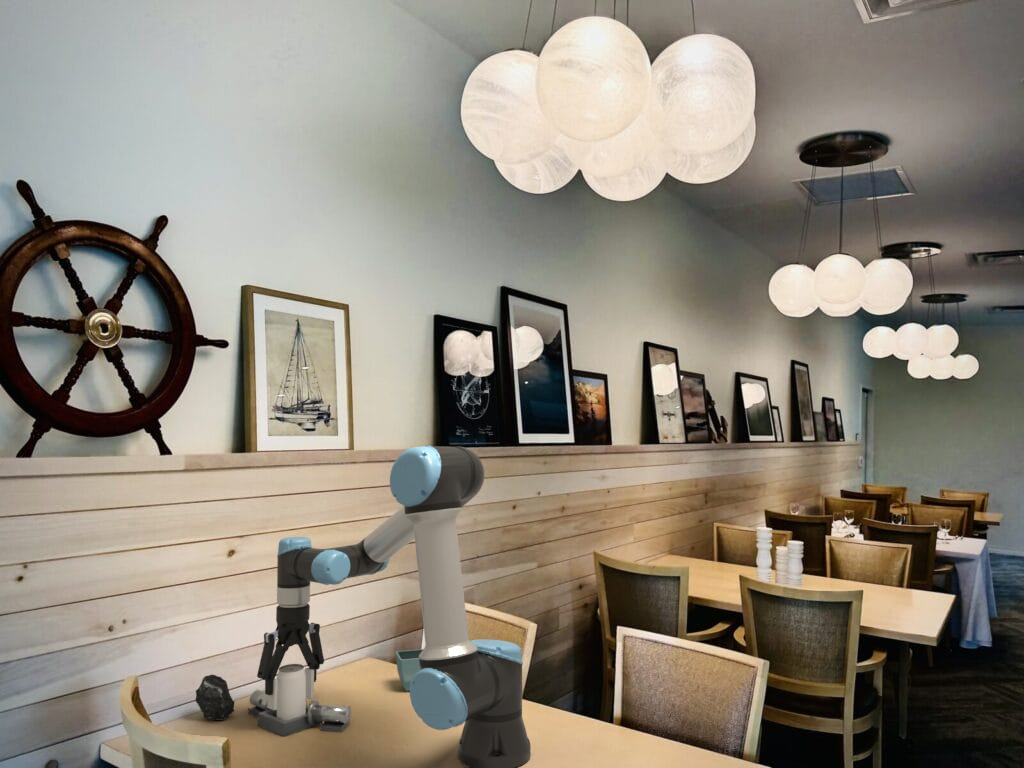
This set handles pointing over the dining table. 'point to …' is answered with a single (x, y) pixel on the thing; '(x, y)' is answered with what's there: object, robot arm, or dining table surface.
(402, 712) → the dining table surface
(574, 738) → the dining table surface
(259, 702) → the shaft
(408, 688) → the flower pot
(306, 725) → the socket
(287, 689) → the can
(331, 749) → the dining table surface
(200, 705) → the rock
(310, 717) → the shaft
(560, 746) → the dining table surface
